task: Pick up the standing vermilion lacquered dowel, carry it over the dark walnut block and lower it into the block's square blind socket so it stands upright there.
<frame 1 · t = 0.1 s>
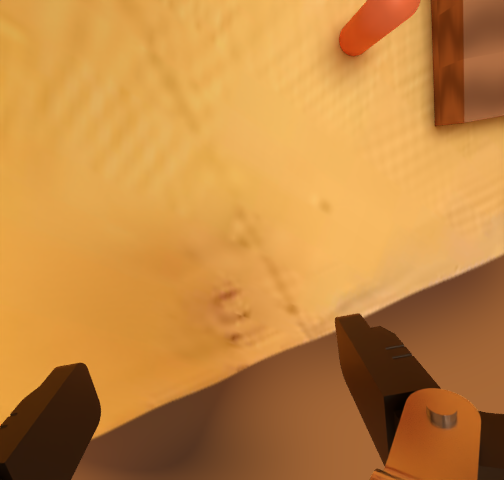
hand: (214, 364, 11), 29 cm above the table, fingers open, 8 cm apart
dowel: (354, 38, 35), on the table
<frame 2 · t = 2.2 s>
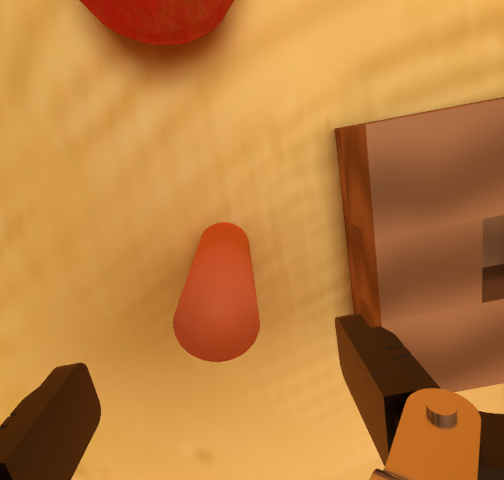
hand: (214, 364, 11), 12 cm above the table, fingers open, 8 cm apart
bore block: (465, 230, 23), on the table
dowel: (224, 246, 22), on the table
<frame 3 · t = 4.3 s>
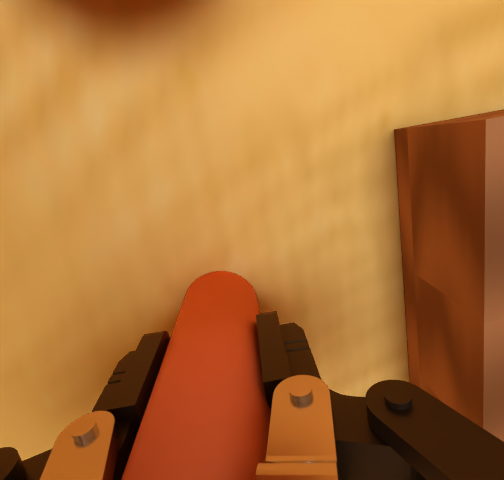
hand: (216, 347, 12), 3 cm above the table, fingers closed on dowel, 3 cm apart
dowel: (221, 305, 15), on the table, touching gripper
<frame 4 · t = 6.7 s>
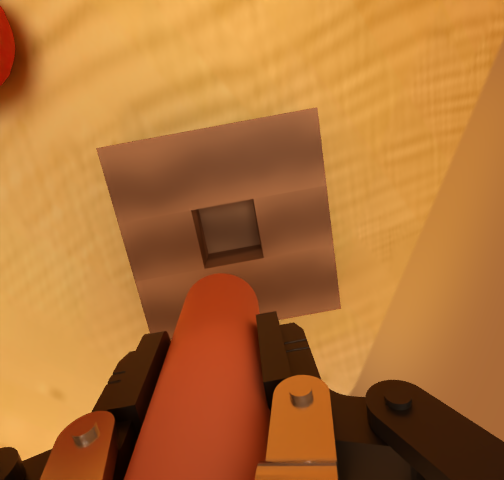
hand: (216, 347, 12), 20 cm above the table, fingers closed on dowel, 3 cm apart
bore block: (229, 221, 31), on the table
dowel: (221, 307, 15), point 17 cm above the table, touching gripper
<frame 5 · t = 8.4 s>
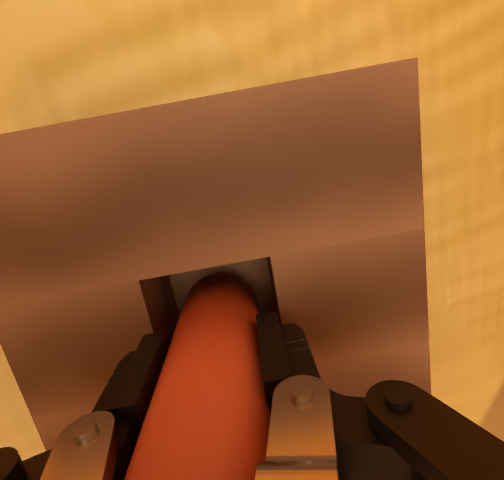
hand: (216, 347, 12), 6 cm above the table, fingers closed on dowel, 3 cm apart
bore block: (222, 278, 18), on the table
dowel: (221, 308, 15), point 3 cm above the table, touching gripper
when the fingers open (6 cm above the table, at t = 9.4 s): dowel drops 2 cm, resting on bore block.
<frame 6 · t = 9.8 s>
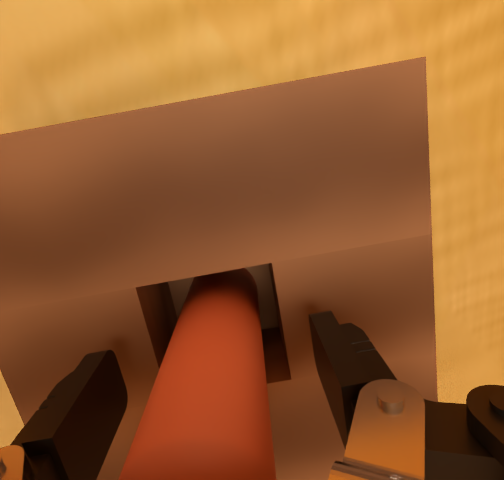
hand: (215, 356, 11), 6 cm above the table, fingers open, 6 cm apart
bore block: (222, 283, 17), on the table
dowel: (223, 292, 16), point 1 cm above the table, touching bore block
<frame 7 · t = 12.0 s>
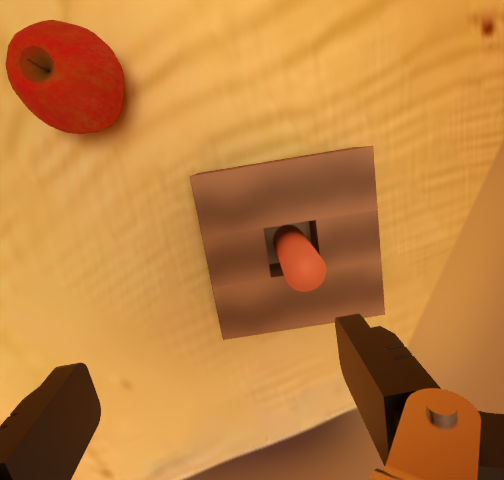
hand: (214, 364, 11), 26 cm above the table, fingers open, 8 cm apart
bore block: (286, 236, 36), on the table
dowel: (288, 239, 35), point 1 cm above the table, touching bore block
apple: (96, 92, 33), on the table
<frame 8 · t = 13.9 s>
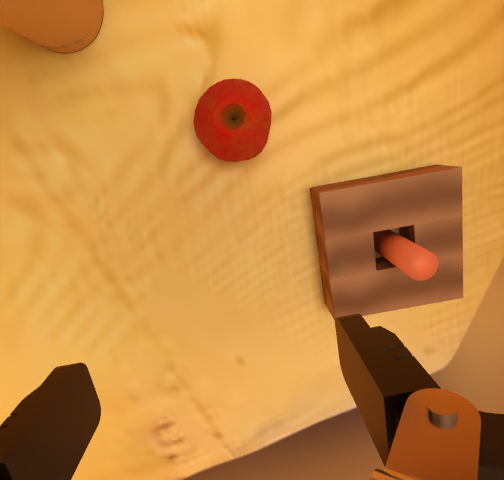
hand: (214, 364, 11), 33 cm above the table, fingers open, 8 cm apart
bore block: (377, 237, 45), on the table
dowel: (381, 239, 44), point 1 cm above the table, touching bore block
apple: (233, 124, 41), on the table
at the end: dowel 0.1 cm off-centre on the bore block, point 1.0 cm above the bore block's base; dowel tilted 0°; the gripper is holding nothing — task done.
